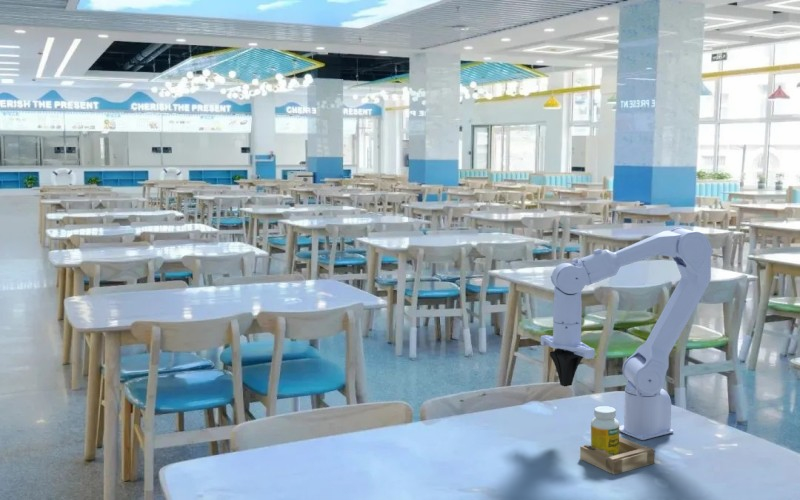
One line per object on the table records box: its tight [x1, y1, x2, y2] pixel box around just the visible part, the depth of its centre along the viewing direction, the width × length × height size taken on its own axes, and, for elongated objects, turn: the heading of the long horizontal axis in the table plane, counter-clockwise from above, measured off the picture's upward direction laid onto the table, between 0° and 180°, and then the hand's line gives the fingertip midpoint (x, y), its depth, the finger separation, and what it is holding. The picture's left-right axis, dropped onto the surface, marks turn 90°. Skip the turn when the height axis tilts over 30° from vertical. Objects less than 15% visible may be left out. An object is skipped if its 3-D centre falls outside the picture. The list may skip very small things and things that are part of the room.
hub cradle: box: [579, 436, 656, 475], centre depth 158 cm, size 10×9×3 cm
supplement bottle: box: [590, 405, 620, 456], centre depth 160 cm, size 5×5×10 cm
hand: (566, 385), depth 172 cm, fingers closed
